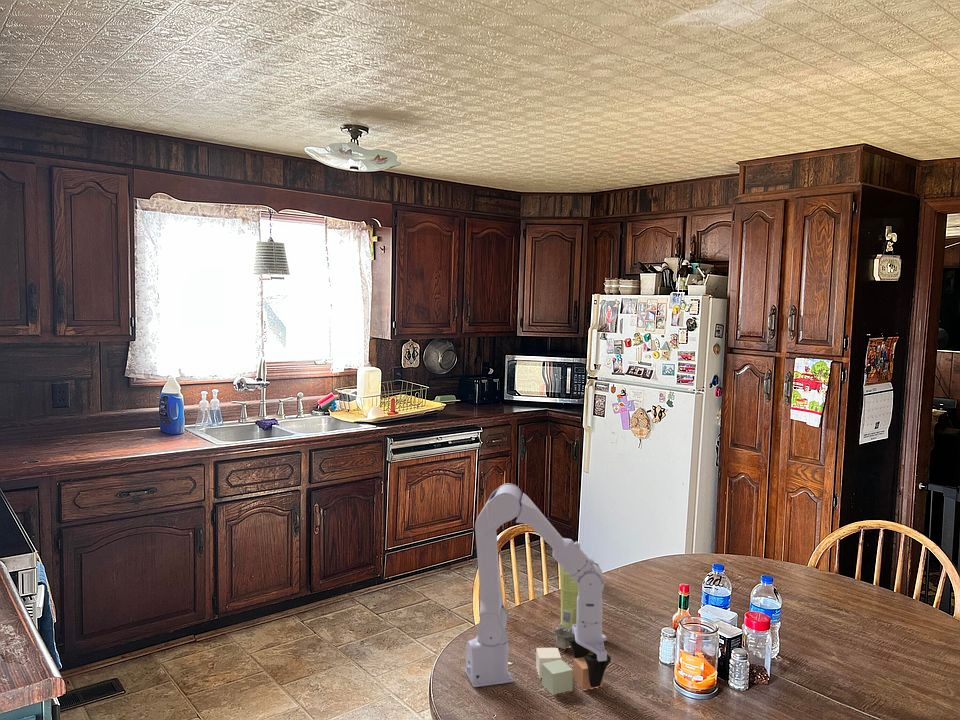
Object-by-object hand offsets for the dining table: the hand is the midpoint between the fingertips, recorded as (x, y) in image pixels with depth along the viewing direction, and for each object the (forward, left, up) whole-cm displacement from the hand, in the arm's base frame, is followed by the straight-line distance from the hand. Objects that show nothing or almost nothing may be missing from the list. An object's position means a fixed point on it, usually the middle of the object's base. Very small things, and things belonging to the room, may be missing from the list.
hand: (588, 677), depth 163 cm
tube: (+8, +28, -2) cm, 30 cm away
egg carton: (+5, +19, -2) cm, 19 cm away
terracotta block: (0, 0, -2) cm, 2 cm away
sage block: (-8, 0, -2) cm, 8 cm away
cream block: (-7, +6, -2) cm, 10 cm away
